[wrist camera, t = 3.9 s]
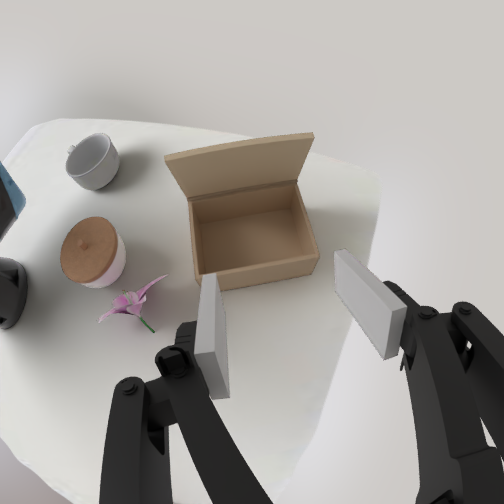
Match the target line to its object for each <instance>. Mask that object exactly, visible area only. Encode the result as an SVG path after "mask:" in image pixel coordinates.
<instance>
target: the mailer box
mask: <svg viewBox="0 0 504 504" xmlns="http://www.w3.org/2000/svg"><path fill="white" fill-rule="evenodd" d="M188 207H189V220H190V231H191V242H192V252H193V262H194V271H195V280H196V281H197V282H198V284H199V285H200V286H201V285H202V277H203V275H207V274H213V273H216V275H217V280H218V284H219V288H220V291H225V290H231V289H237V288H242V287H248V286H253V285H259V284H264V283H270V282H275V281H280V280H285V279H290V278H296V277H301V276H306V275H311V274H312V272H313V270H314V268H315V266H316V264H317V262H318V259H319V257H320V255H319V252H318V249H317V245H316V242H315V238H314V235H313V232H312V229H311V225H310V222H309V219H308V216H307V213H306V209H305V206H304V203H303V200H302V197H301V194H300V191H299V188H298V185H297V183H290V184H283V185H276V186H270V187H263V188H257V189H251V190H245V191H239V192H233V193H228V194H222V195H217V196H211V197H206V198H201V199H196V200H191V201H188Z"/></svg>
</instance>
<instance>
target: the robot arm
mask: <svg viewBox="0 0 504 504" xmlns="http://www.w3.org/2000/svg"><path fill="white" fill-rule="evenodd" d="M25 204H26V198H25V196H24V194H23V193H22V191H21V190H20V189H19V187H18V186H17V185H16V183H15V182H14V181H13V179H12V178H11V176H10V175H9V173H8V172H7V170H6V169H5V168H4V166H3V165H2V163H1V162H0V242H1V240H2V239H3V238H4V236H5V235H6V233H7V232H8V230H9V229H10V228H11V226H12V225H13V224H14V222H15V221H16V220H17V219H18V216H19V214H20V213H21V211H22V210H23V208H24V207H25ZM334 266H335V292H336V294H337V295H338V296H339V298H340V299H341V300H342V302H343V303H344V305H345V306H346V307H347V309H348V310H349V311H350V313H351V314H352V316H353V317H354V318H355V320H356V321H357V323H358V324H359V325H360V327H361V328H362V330H363V331H364V333H365V334H366V335H367V337H368V338H369V340H370V341H371V343H372V344H373V345H374V347H375V348H376V350H377V351H378V353H379V354H380V356H381V357H382V358H383V360H386V359H389V358H392V357H394V356H397V355H398V351H399V347H400V346H401V348H402V349H403V350H404V354H403V358H402V362H401V366H400V371H402V369H403V366H405V371H406V376H407V381H408V386H409V391H410V397H411V403H412V410H413V416H414V423H415V430H416V439H417V449H418V460H419V475H420V489H419V492H418V495H417V498H416V503H415V504H504V471H503V465H502V461H501V457H502V459H503V461H504V336H503V334H502V333H501V332H500V331H499V330H498V329H497V328H496V327H495V326H494V325H493V324H492V323H491V322H490V321H489V320H488V319H487V318H486V317H485V316H484V315H483V314H482V313H481V312H480V311H479V310H478V309H477V308H476V307H475V306H474V305H472V304H470V303H468V302H458V303H456V304H454V306H453V309H452V312H450V313H440V314H439V312H438V311H437V310H436V309H434V308H433V307H429V306H420V305H419V304H417V303H416V302H415V301H414V300H413V299H412V298H411V297H410V296H409V295H408V294H406V292H404V291H403V290H402V289H401V288H400V287H399V286H398V285H397V284H395V283H393V282H390V281H385V282H382V281H380V280H379V279H378V278H377V277H376V276H375V275H374V274H373V273H372V272H371V271H370V270H369V269H368V268H366V267H365V266H364V265H363V264H362V263H361V262H360V261H359V260H358V259H357V258H355V257H354V256H353V255H352V254H351V253H350V252H349V251H348V250H347V249H342V250H337V251H334ZM26 294H27V278H26V273H25V270H24V268H23V267H22V265H21V264H19V263H18V262H16V261H15V260H13V259H10V258H3V257H0V328H3V329H7V328H10V327H11V326H13V325H14V324H15V323H16V321H17V320H18V318H19V317H20V315H21V313H22V310H23V308H24V304H25V300H26ZM468 341H469V342H470V343H471V344H472V346H471V348H470V349H469V348H468V347H467V343H468ZM155 363H156V365H157V367H158V369H159V371H160V373H161V375H162V376H161V377H160V378H157V379H155V380H152V381H149V382H146V383H144V382H143V380H142V379H141V378H138V377H128V378H125V379H123V380H121V381H120V382H119V383H118V384H117V385H116V387H115V389H114V393H113V398H112V404H111V409H110V415H109V420H108V427H107V433H106V440H105V447H104V455H103V463H102V473H101V484H100V497H99V504H173V500H172V488H171V475H170V457H169V425H172V424H175V423H178V425H179V427H180V430H181V433H182V435H183V438H184V440H185V443H186V445H187V448H188V450H189V453H190V455H191V457H192V460H193V462H194V464H195V467H196V469H197V471H198V473H199V476H200V478H201V480H202V482H203V484H204V486H205V488H206V491H207V493H208V495H209V497H210V499H211V501H212V503H213V504H273V503H272V501H271V500H270V498H269V497H268V495H267V494H266V492H265V491H264V489H263V488H262V486H261V485H260V483H259V482H258V480H257V479H256V477H255V476H254V474H253V473H252V471H251V469H250V468H249V466H248V465H247V463H246V461H245V460H244V458H243V456H242V455H241V453H240V451H239V450H238V448H237V446H236V445H235V443H234V441H233V439H232V438H231V436H230V434H229V432H228V431H227V429H226V427H225V425H224V423H223V421H222V420H221V418H220V416H219V414H218V412H217V410H216V408H215V406H214V405H213V403H212V401H211V399H210V397H209V394H210V396H211V398H212V400H215V399H223V398H230V391H229V375H228V357H227V337H226V314H225V309H224V305H223V301H222V297H221V292H220V288H219V284H218V280H217V275H216V273H213V274H207V275H203V277H202V285H201V293H200V301H199V310H198V319H197V321H192V322H185V323H182V324H181V325H180V327H179V328H178V329H177V333H176V338H175V344H174V345H172V346H168V347H166V348H163V349H162V350H161V351H159V352H158V353H157V355H156V357H155ZM480 418H481V419H482V421H483V423H484V425H485V426H486V428H487V430H488V432H489V434H490V436H491V437H492V439H493V441H494V443H495V445H496V447H497V448H496V447H490V446H488V445H487V442H486V439H485V434H484V430H483V427H482V423H481V419H480Z"/></svg>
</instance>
